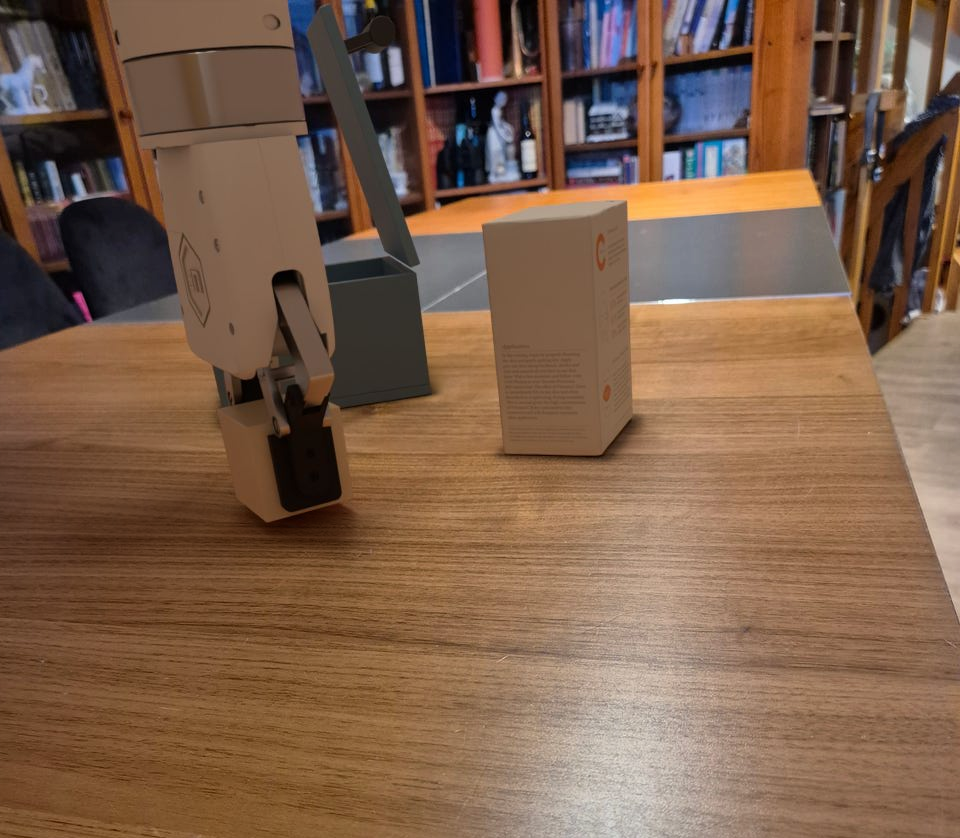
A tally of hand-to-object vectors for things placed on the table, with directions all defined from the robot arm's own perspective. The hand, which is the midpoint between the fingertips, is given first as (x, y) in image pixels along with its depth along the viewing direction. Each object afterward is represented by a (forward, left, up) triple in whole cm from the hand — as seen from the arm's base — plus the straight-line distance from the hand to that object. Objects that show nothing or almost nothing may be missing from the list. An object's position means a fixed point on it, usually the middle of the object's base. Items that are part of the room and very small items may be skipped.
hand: (292, 487), depth 50 cm
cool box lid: (+18, +24, +16) cm, 34 cm away
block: (0, 0, -1) cm, 1 cm away
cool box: (+12, +26, -1) cm, 29 cm away
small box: (+18, 0, -2) cm, 18 cm away
